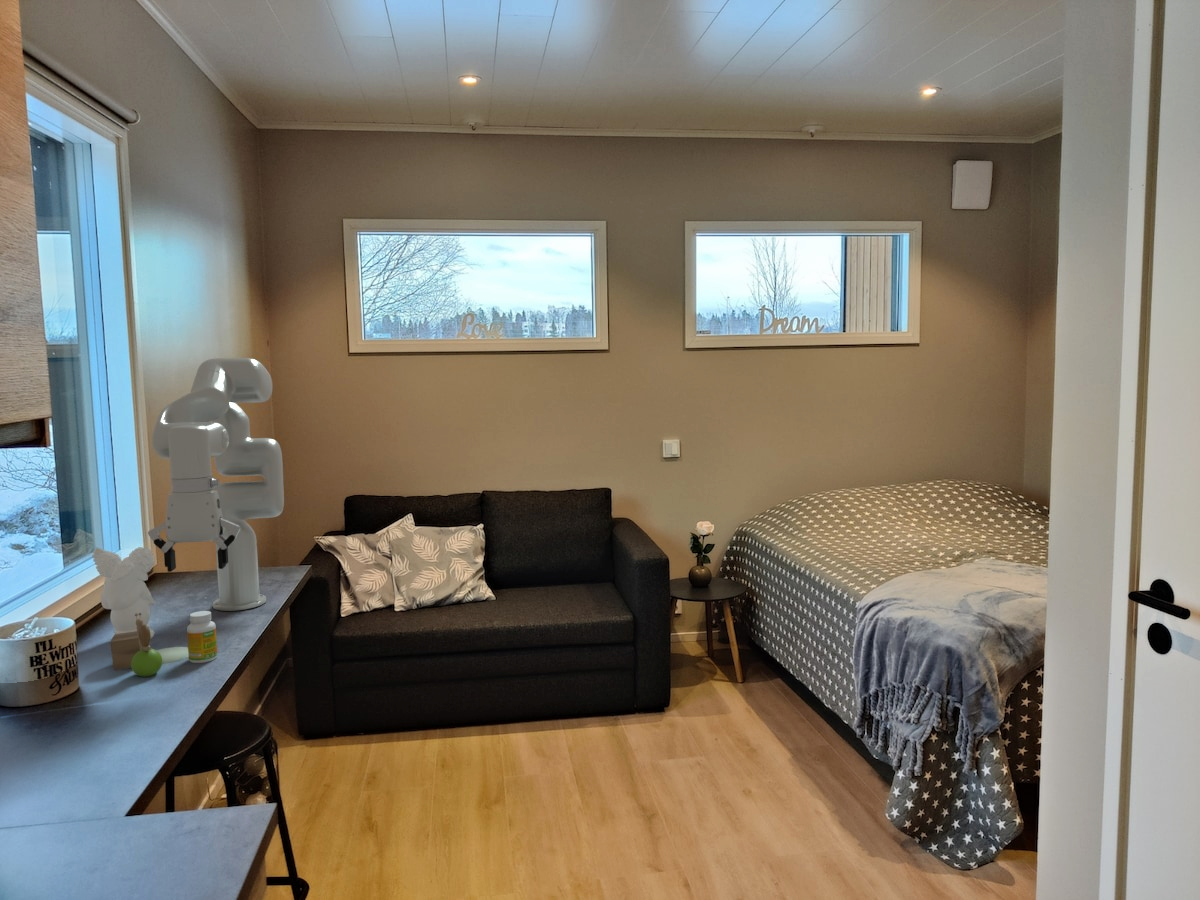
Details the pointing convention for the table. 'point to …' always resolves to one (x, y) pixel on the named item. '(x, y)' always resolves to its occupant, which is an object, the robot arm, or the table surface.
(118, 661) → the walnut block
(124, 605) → the cherub figurine
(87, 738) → the table surface
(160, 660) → the snail figurine
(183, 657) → the felt coaster
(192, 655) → the supplement bottle
